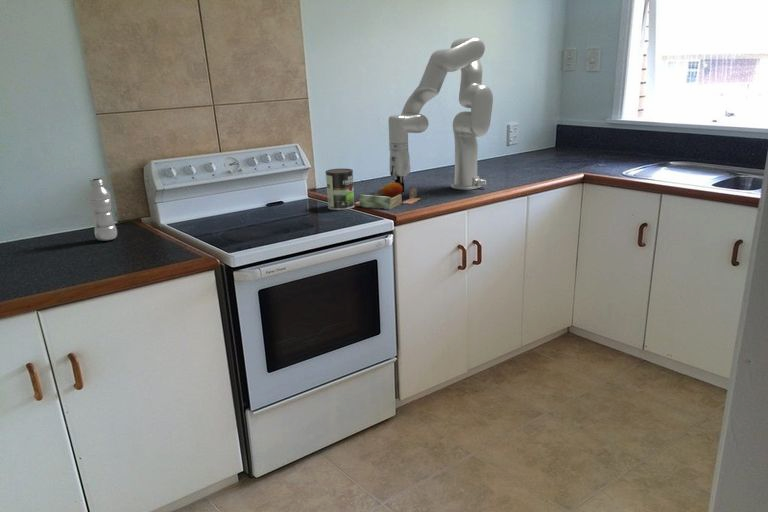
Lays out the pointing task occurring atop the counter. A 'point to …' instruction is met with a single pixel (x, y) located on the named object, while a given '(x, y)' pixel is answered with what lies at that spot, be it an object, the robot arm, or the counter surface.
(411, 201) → the trap marks
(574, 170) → the counter surface
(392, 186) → the fruit
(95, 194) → the plastic bottle
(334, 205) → the coffee can
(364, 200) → the trap box
